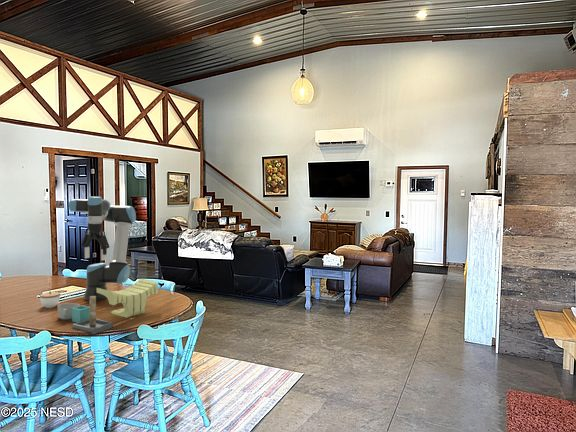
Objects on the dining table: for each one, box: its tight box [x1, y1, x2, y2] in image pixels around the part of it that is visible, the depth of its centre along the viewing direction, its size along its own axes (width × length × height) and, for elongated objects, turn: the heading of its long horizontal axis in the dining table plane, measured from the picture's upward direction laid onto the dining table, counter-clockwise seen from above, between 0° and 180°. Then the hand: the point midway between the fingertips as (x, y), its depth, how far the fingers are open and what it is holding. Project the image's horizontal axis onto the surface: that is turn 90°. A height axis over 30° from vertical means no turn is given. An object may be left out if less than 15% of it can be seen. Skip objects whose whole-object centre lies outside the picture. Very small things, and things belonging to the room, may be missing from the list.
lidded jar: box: [39, 291, 61, 309], centre depth 243 cm, size 11×11×9 cm
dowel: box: [89, 296, 97, 327], centre depth 206 cm, size 3×3×16 cm
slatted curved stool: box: [97, 278, 159, 318], centre depth 231 cm, size 30×16×18 cm, turn 149°
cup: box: [71, 305, 90, 323], centre depth 216 cm, size 6×6×8 cm
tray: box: [71, 318, 114, 335], centre depth 207 cm, size 16×12×3 cm
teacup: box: [57, 302, 80, 321], centre depth 219 cm, size 14×11×8 cm
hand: (95, 259), depth 230 cm, fingers open, 13 cm apart
